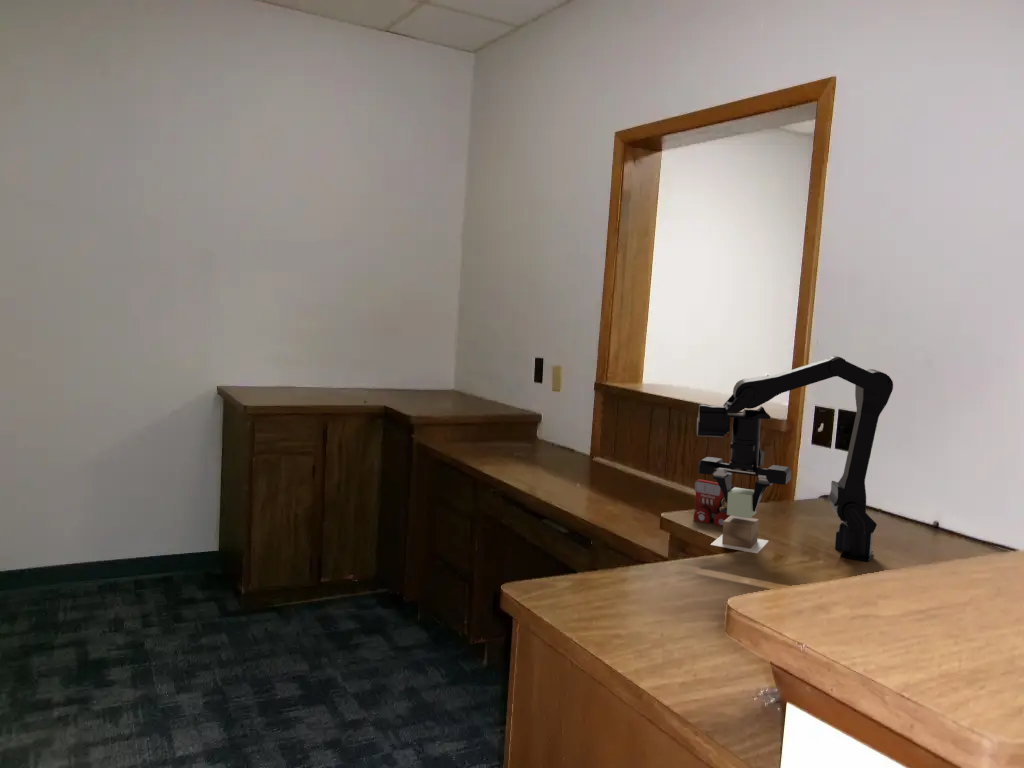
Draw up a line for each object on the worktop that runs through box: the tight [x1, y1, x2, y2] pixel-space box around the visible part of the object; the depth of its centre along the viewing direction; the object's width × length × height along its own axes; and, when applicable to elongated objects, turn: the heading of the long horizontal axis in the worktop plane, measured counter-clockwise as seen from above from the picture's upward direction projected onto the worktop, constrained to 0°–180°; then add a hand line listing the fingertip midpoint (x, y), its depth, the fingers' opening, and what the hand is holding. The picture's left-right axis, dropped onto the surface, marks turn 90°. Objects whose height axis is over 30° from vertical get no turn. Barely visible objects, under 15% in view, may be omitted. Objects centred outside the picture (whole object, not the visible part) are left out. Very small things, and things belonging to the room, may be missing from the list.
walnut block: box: [722, 515, 760, 549], centre depth 173 cm, size 6×6×5 cm
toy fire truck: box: [693, 478, 735, 527], centre depth 189 cm, size 7×12×10 cm, turn 52°
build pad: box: [710, 533, 769, 554], centre depth 174 cm, size 10×10×1 cm
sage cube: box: [727, 486, 757, 518], centre depth 172 cm, size 5×5×5 cm
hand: (741, 509), depth 173 cm, fingers closed on sage cube, 5 cm apart
